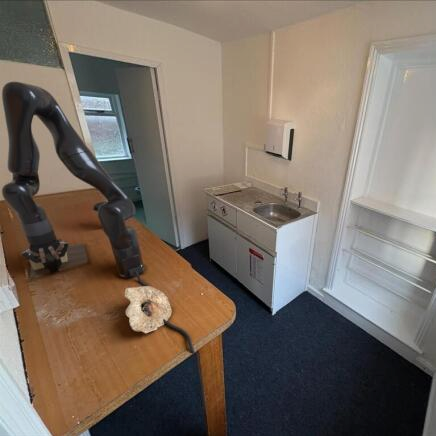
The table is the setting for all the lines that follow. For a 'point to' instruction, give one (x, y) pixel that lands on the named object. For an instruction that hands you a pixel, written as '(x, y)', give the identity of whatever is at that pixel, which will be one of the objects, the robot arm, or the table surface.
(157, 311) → the seashell
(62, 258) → the cake slice
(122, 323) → the table surface
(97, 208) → the coffee cup
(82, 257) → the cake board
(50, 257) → the knife
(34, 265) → the cake
